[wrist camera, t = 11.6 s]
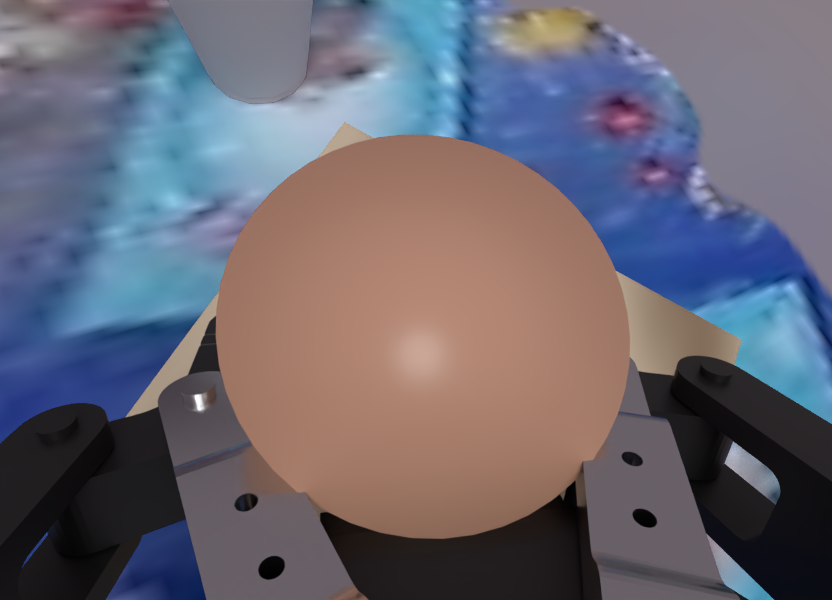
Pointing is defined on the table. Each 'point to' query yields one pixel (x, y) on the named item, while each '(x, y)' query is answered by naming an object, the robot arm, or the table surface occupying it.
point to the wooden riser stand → (647, 311)
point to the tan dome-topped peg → (422, 336)
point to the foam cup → (250, 44)
